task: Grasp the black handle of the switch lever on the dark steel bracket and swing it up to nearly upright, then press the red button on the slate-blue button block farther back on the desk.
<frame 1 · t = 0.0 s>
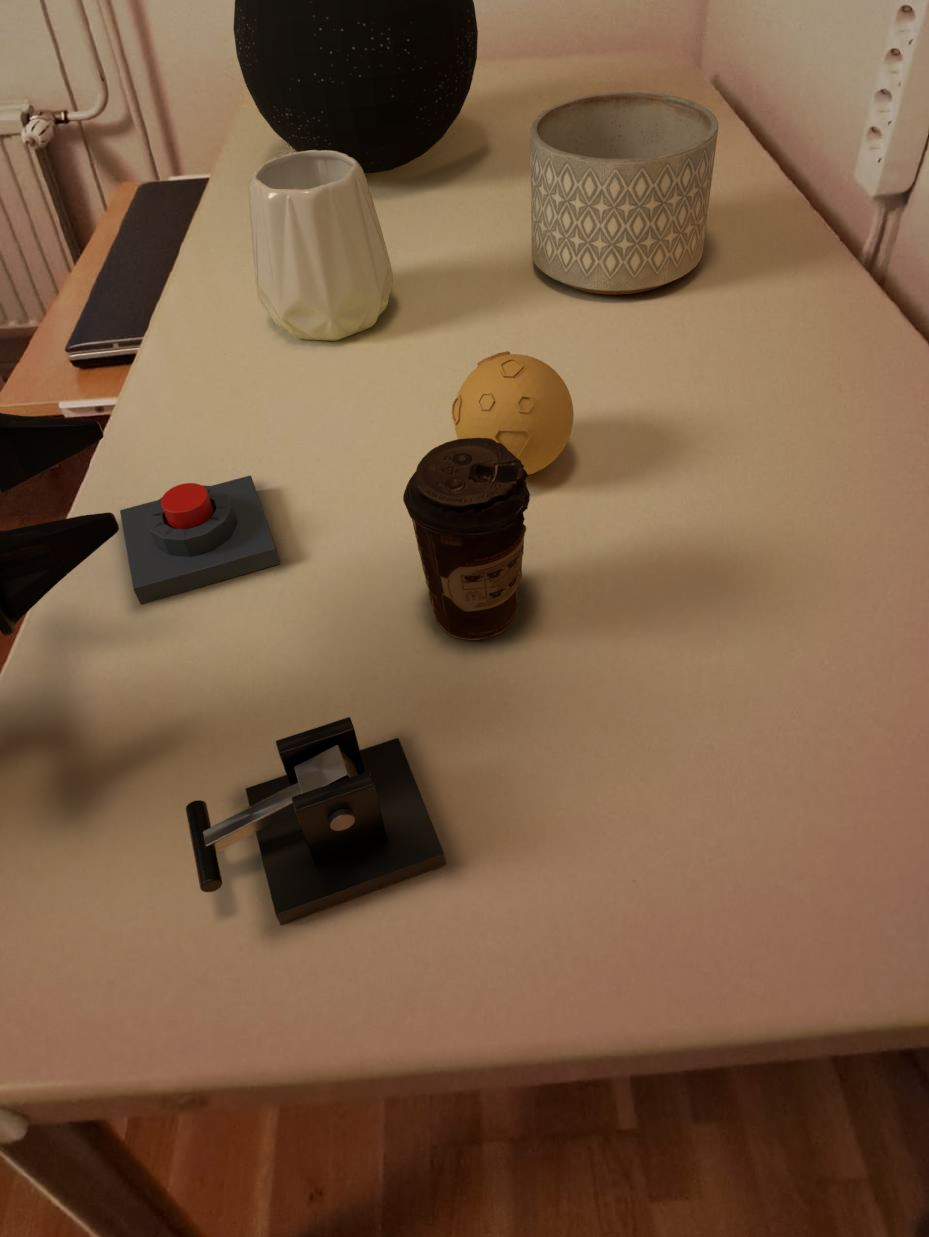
hand: (108, 472, 53), 18 cm above the table, tool horizontal, fingers open, 9 cm apart
vase: (331, 317, 100), on the table
button: (187, 505, 73), point 4 cm above the table, slide at 0.2 cm
coffee cup: (478, 612, 69), on the table
switch lever: (272, 809, 53), point 5 cm above the table, hinge at -15.0°
stress ball: (514, 466, 81), on the table
button block: (201, 544, 76), on the table
planter: (615, 263, 104), on the table
lever bracket: (344, 830, 57), on the table
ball: (373, 166, 128), on the table
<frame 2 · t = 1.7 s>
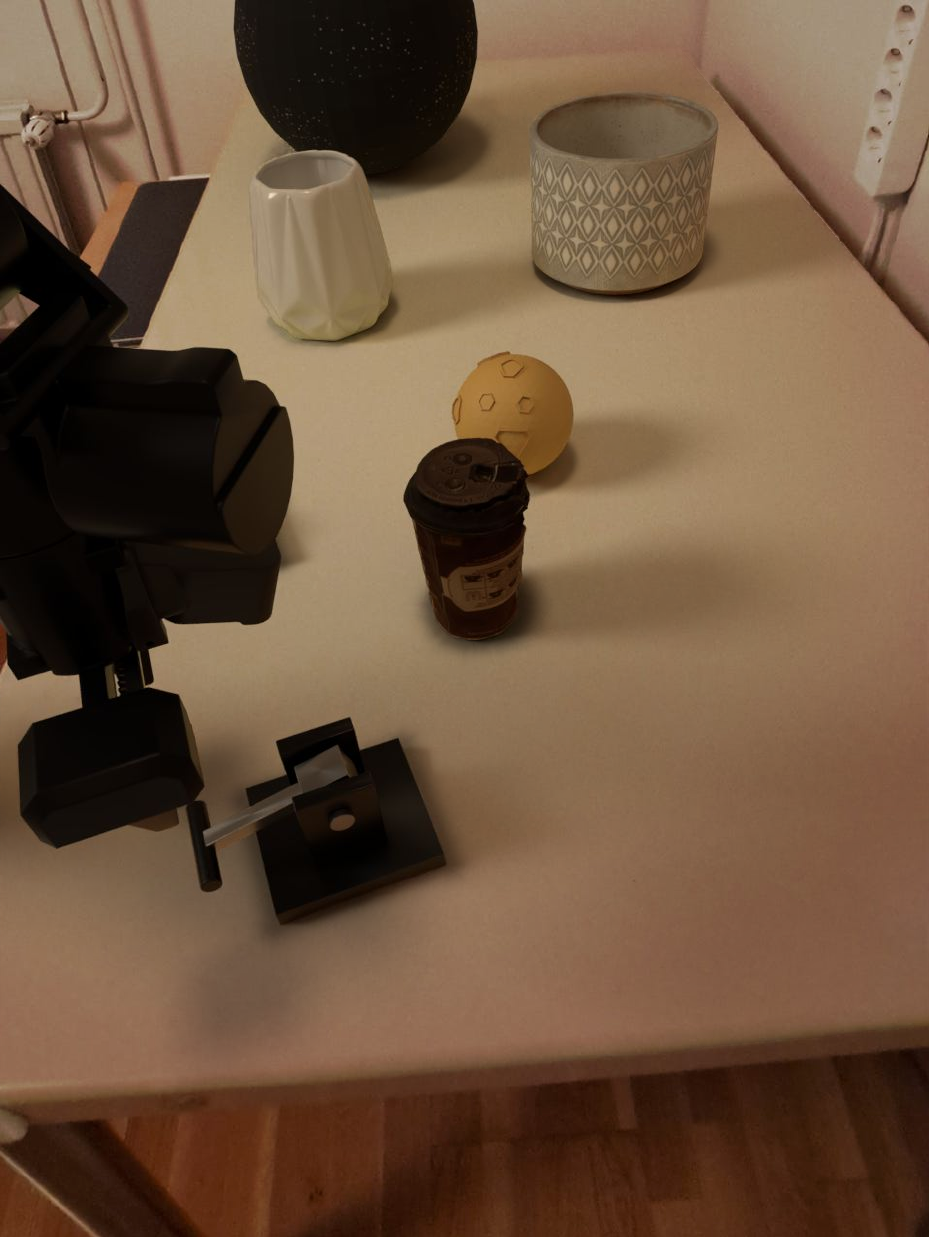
hand: (155, 750, 46), 13 cm above the table, tool pointing down, fingers open, 9 cm apart
nothing on the table moved.
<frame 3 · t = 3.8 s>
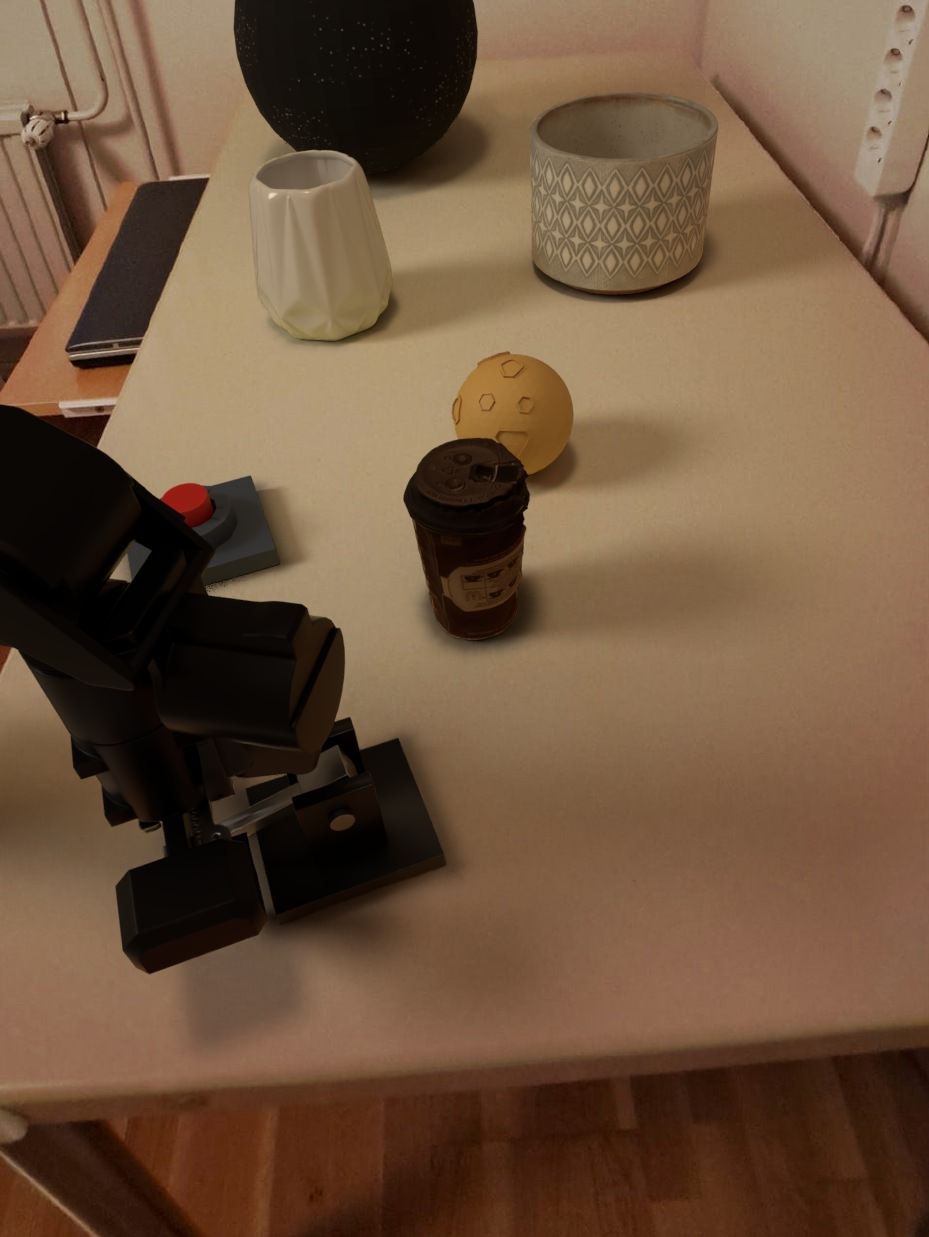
hand: (212, 862, 54), 1 cm above the table, tool pointing down, fingers closed on switch lever, 5 cm apart
switch lever: (272, 809, 53), point 5 cm above the table, hinge at -15.0°, touching gripper
everything else where it was.
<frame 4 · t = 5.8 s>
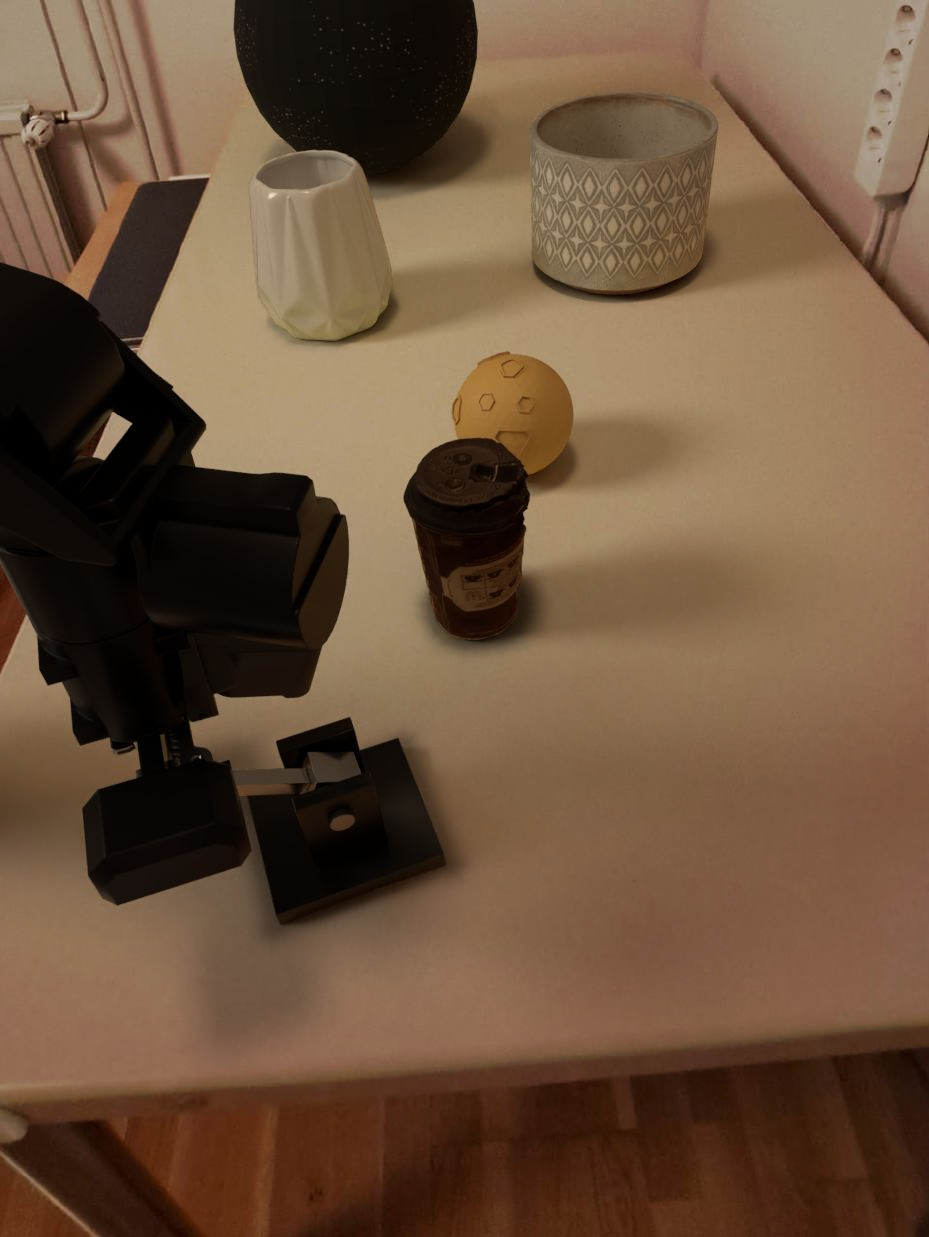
hand: (189, 802, 50), 8 cm above the table, tool pointing down, fingers closed on switch lever, 5 cm apart
switch lever: (267, 781, 51), point 7 cm above the table, hinge at 28.2°, touching gripper
everything else where it was.
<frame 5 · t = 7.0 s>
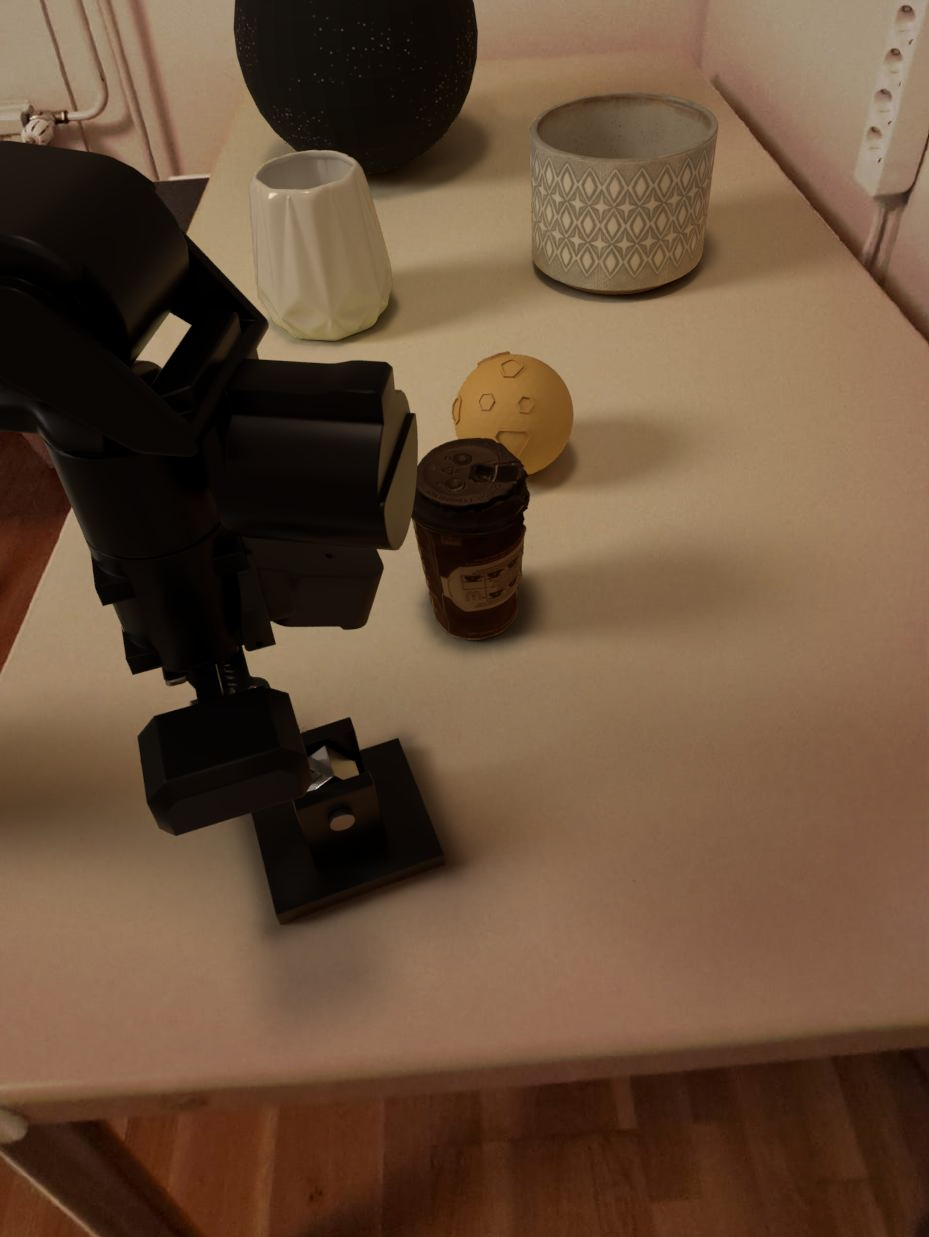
hand: (236, 746, 48), 11 cm above the table, tool pointing down, fingers closed on switch lever, 5 cm apart
switch lever: (287, 758, 50), point 9 cm above the table, hinge at 59.9°, touching gripper
everything else where it was.
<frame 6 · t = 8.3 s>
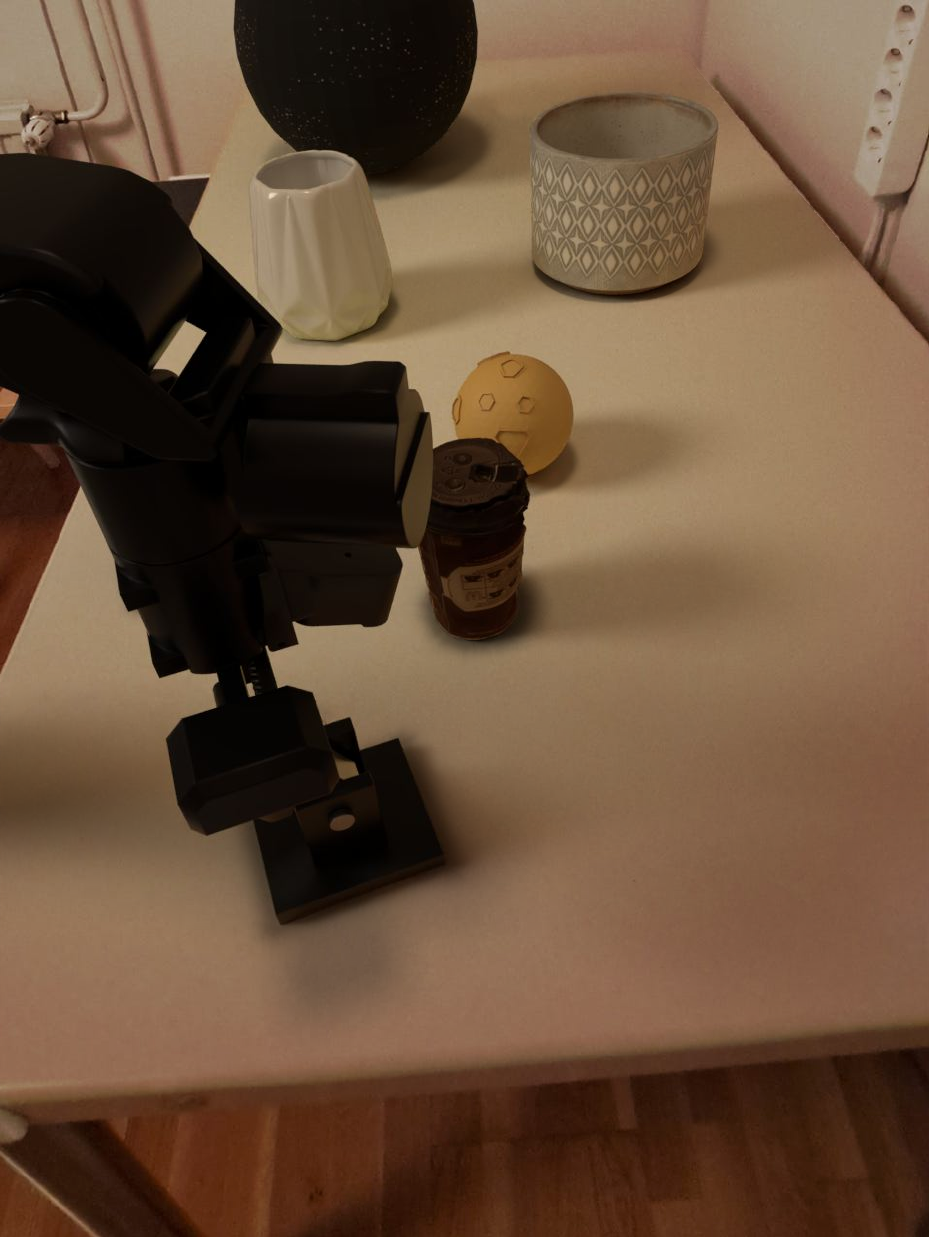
hand: (262, 745, 49), 10 cm above the table, tool pointing down, fingers open, 9 cm apart
switch lever: (288, 757, 50), point 9 cm above the table, hinge at 62.0°
everything else where it was.
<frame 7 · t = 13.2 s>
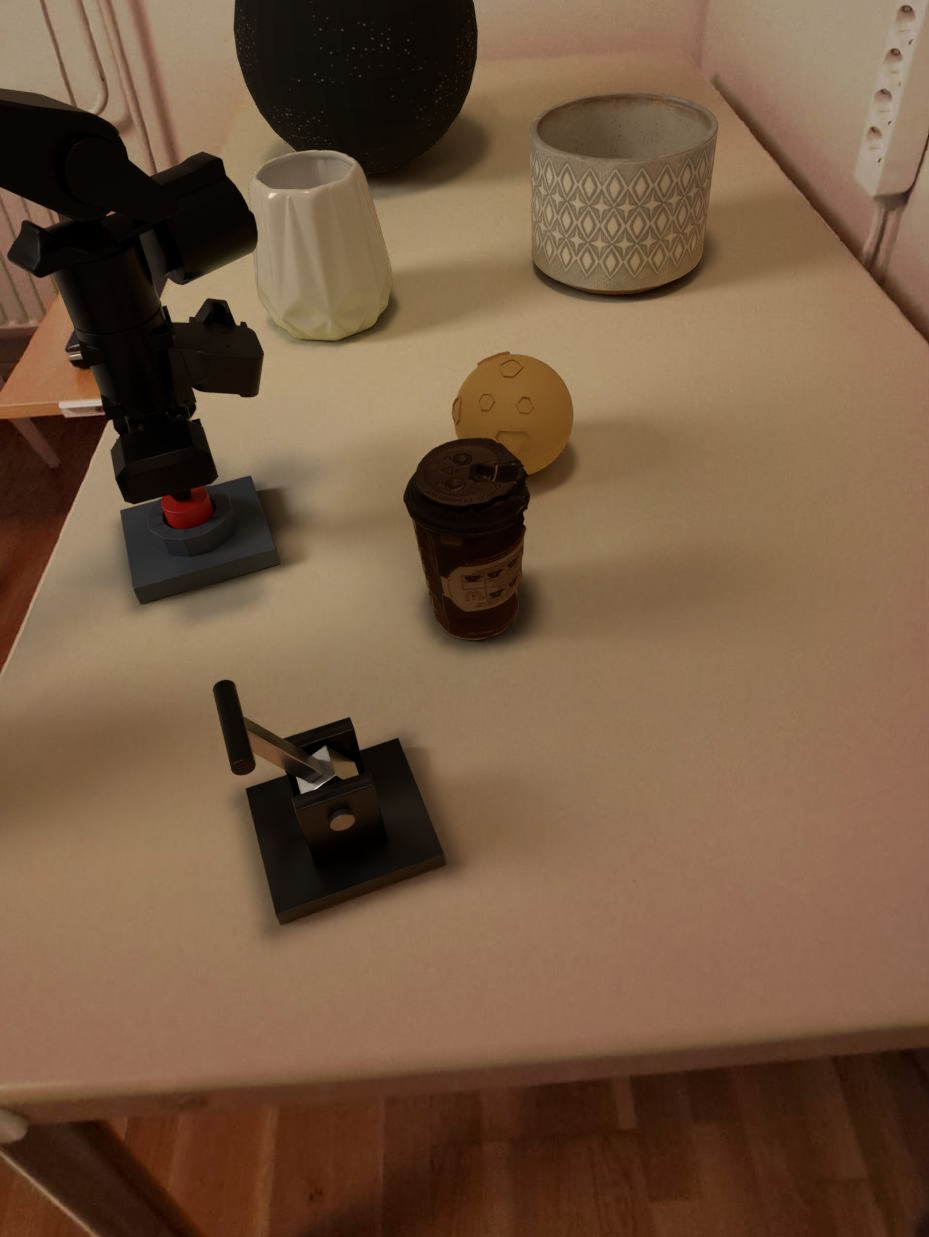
hand: (183, 497, 72), 5 cm above the table, tool pointing down, fingers closed, pressing on button
button: (187, 506, 73), point 4 cm above the table, slide at 0.1 cm, touching gripper
everything else where it was.
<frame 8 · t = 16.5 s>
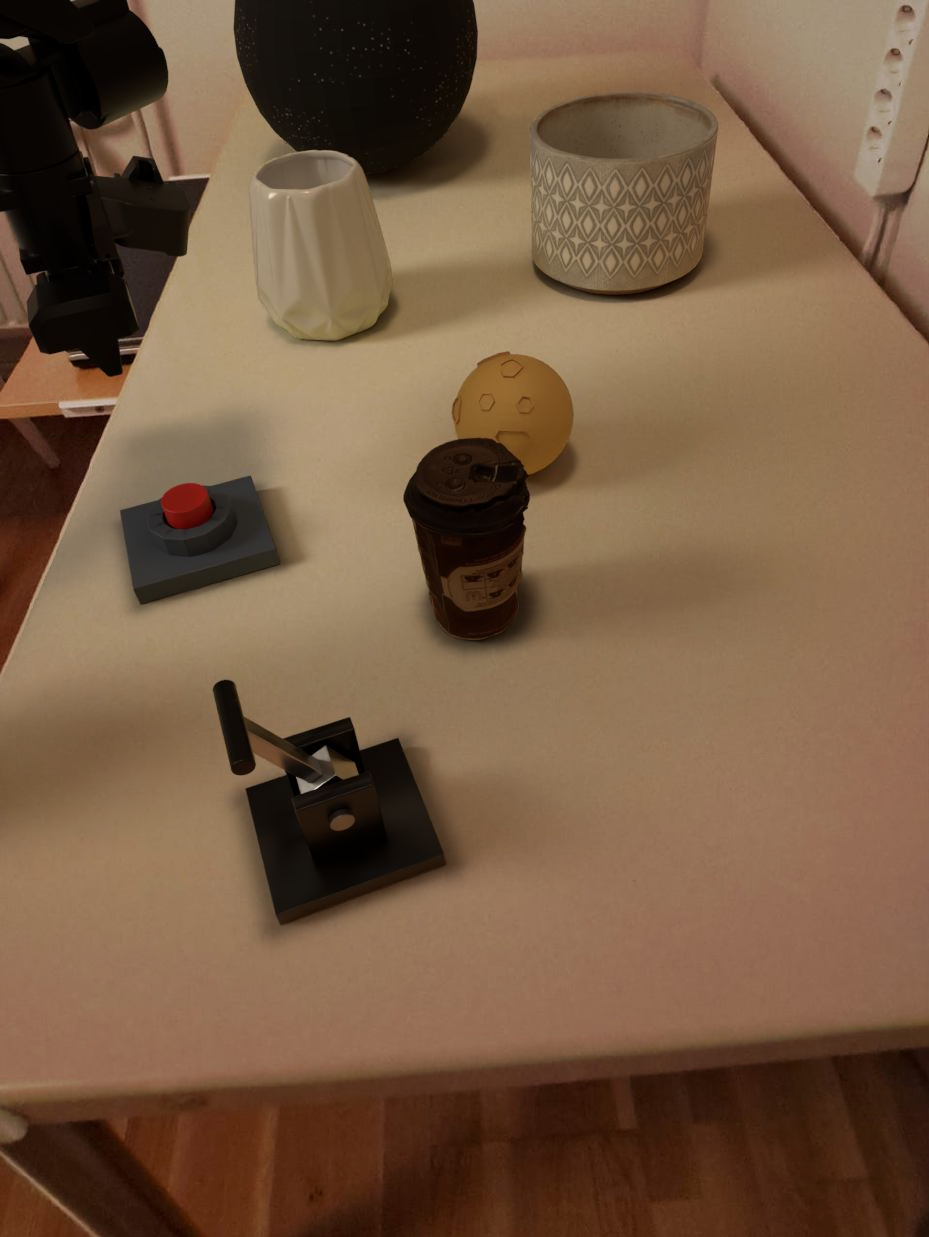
hand: (115, 373, 70), 13 cm above the table, tool pointing down, fingers closed
button: (187, 505, 73), point 4 cm above the table, slide at 0.2 cm
everything else where it was.
at the end: switch lever at +62° (first picture: -15°); button pushed in 1.1 cm at the most during the clip, back to 0.2 cm at the end; button slide at 0.2 cm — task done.
